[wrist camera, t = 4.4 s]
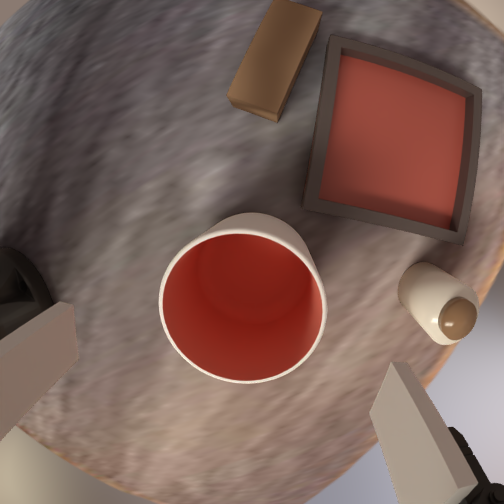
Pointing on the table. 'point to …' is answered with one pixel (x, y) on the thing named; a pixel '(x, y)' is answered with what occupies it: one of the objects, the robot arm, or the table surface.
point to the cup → (244, 300)
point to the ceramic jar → (438, 302)
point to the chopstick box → (274, 59)
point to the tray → (394, 142)
